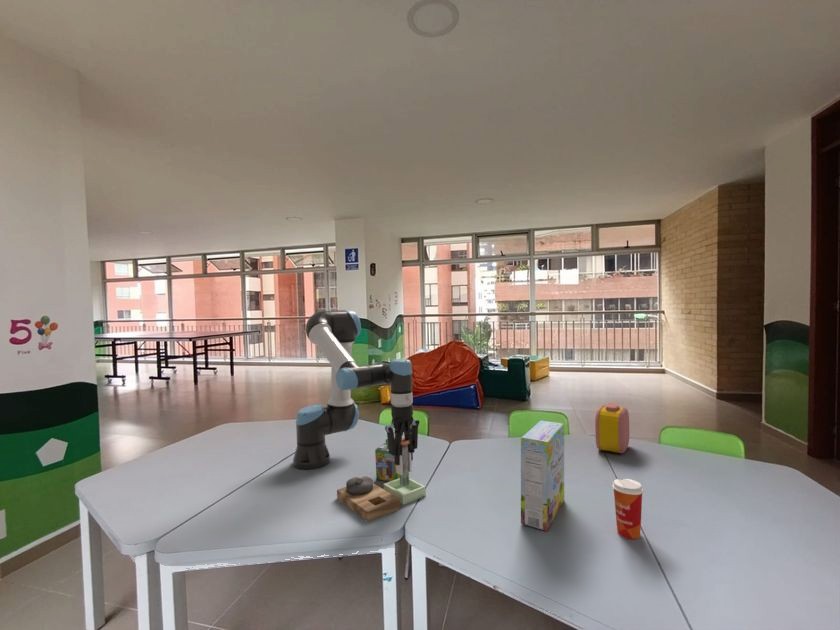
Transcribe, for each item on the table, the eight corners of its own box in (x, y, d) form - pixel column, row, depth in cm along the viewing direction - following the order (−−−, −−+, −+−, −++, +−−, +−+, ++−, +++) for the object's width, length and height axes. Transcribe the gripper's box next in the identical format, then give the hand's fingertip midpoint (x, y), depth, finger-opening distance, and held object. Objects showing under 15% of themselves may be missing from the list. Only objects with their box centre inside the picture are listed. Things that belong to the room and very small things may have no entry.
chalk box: (397, 483, 145) (396, 443, 145) (375, 480, 148) (374, 441, 148) (407, 473, 154) (406, 435, 154) (386, 470, 157) (385, 433, 157)
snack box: (550, 533, 110) (548, 442, 110) (519, 525, 115) (517, 437, 115) (566, 500, 129) (565, 422, 128) (540, 494, 133) (538, 419, 133)
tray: (383, 492, 138) (383, 483, 138) (405, 484, 144) (405, 476, 144) (403, 504, 129) (403, 495, 129) (425, 495, 135) (425, 486, 135)
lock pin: (395, 483, 136) (394, 439, 136) (405, 479, 139) (404, 437, 139) (403, 487, 133) (401, 442, 133) (413, 483, 136) (412, 440, 136)
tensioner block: (337, 498, 134) (336, 478, 134) (367, 487, 142) (366, 468, 142) (368, 521, 119) (367, 498, 119) (400, 508, 126) (399, 486, 126)
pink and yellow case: (603, 440, 184) (603, 399, 184) (630, 445, 178) (629, 402, 178) (595, 453, 169) (594, 408, 169) (623, 458, 163) (622, 411, 163)
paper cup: (607, 527, 113) (606, 478, 112) (633, 525, 113) (632, 476, 113) (624, 543, 105) (622, 490, 105) (651, 540, 105) (650, 488, 105)
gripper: (388, 410, 128) (391, 482, 128) (426, 402, 138) (428, 468, 138) (376, 406, 134) (378, 475, 134) (413, 399, 144) (415, 462, 144)
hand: (404, 471), depth 136 cm, fingers closed on lock pin, 3 cm apart
